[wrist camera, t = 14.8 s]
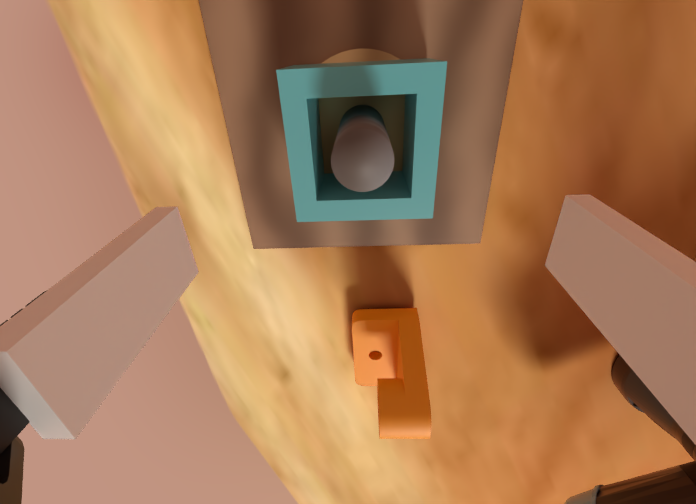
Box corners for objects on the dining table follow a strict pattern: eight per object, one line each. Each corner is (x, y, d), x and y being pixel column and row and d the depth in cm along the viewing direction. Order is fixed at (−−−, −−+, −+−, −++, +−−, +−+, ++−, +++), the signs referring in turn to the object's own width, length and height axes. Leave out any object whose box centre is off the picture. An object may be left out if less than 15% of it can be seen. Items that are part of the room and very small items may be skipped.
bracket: (351, 304, 39) (348, 397, 29) (415, 303, 39) (435, 396, 28) (355, 368, 44) (354, 464, 34) (411, 367, 44) (427, 465, 34)
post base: (524, -59, 22) (641, -133, 13) (475, 235, 34) (519, 308, 24) (198, -36, 24) (92, -90, 14) (257, 241, 35) (219, 312, 26)
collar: (429, 58, 24) (447, 61, 19) (420, 188, 29) (432, 218, 24) (293, 65, 25) (276, 69, 20) (307, 191, 30) (296, 222, 25)
